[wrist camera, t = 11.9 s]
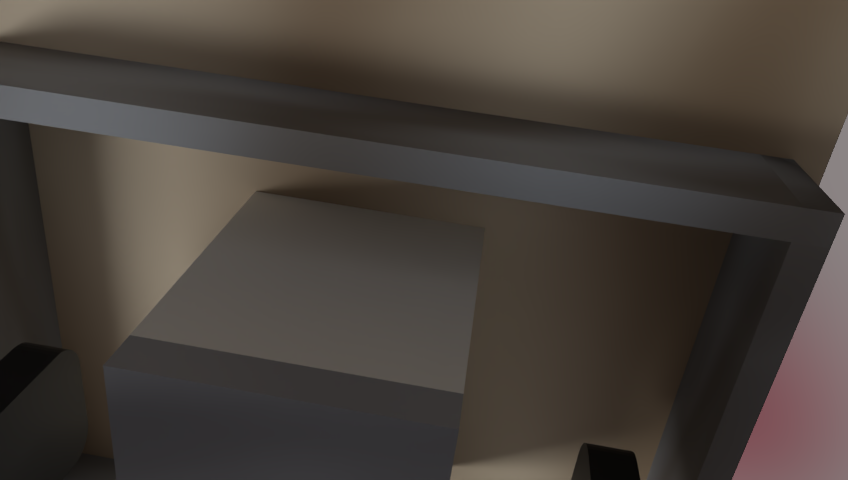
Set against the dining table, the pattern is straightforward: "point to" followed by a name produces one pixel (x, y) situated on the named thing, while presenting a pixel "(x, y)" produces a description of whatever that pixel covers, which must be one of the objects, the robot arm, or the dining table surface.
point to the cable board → (450, 190)
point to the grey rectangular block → (302, 351)
